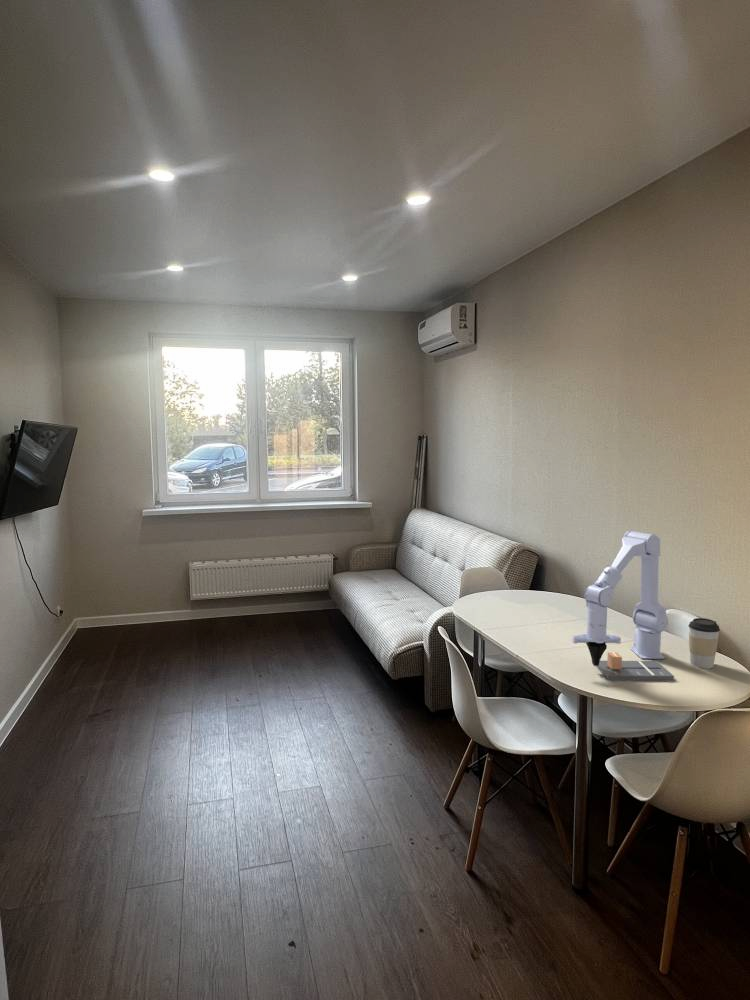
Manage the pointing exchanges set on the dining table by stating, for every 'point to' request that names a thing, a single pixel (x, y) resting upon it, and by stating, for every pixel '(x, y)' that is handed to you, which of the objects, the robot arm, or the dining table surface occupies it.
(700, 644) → the coffee cup
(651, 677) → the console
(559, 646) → the dining table surface
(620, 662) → the fader tab
